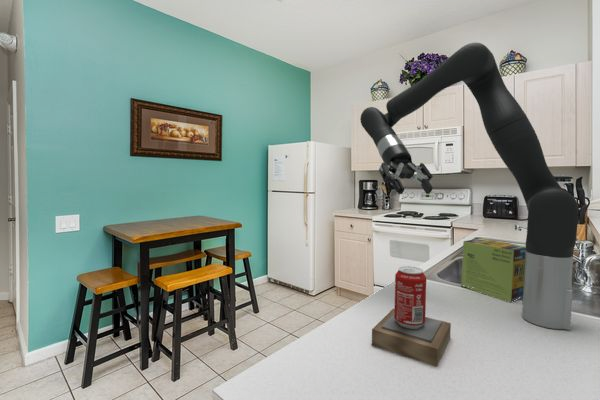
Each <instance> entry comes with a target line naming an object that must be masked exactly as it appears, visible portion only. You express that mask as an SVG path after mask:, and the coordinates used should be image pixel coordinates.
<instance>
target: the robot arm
mask: <svg viewBox="0 0 600 400" xmlns="http://www.w3.org/2000/svg"><path fill="white" fill-rule="evenodd" d="M460 82H463V83H464V84H465V86H466V87H467V88H468V89H469V90H470V92H471V94H472V96H473V97H474V98H475V100H476V103H477V104H478V107H479V110H480V115H481V116H480V117H481V119H482V123H483V127H484V129H485V131H486V134H487V136H488V137H489V140H490V142H491V144H492V146H493V148H494V149H495V151H496V153H497V154H498V155H499V157H500V159H501V160H502V161H503V163H504V165H505V166H506V168H508V170H509V172H510V173H511V174H512V176H513V177H514V179H515V182H517V184H518V187H519V189H520V192H521V194H522V197H523V199H524V202H525V204H526V205H525V206H526V209H527V225H526V227H527V228H526V238H525V246H526V249H525V269H524V287H523V298H522V307H521V310H522V311H521V316H522V317H521V318H522V319H524V320H525V321H527V322H528V323H531V324H533V325H535V326H538V327H542V328H548V329H552V330H553V329H555V330H567V331H570V330H571V324H572V322H571V321H572V306H573V305H572V304H573V289H572V282H573V281H572V280H573V279H572V278H573V264H574V250H575V246H576V244H577V236H578V235H577V233H578V225H579V224H578V223H579V204H578V201H577V200H576V198H575V197H574V196H573V195H572V194H570V193H569V192H567V191H565V190H564V189H563V188H562V186H561V185H560V184H559V182H558V181H557V179H556V177H555V176H554V175H553V173H552V172H551V169H550V168H549V166H548V164H547V162H546V159H545V155H544V151H543V149H542V145H541V142H540V140H539V138H538V137H539V136H538V135H537V132H536V131H535V128H534V127H533V125H532V123H531V121H530V119H529V117H528V116H527V114H526V113H525V111H524V110H523V108H522V106H521V105H520V104H519V102H518V101H517V100H516V98H515V97H514V96H513V95H512V93H511V92H510V91H509V89H508V88H507V86H506V84H505V82H504V80H503V78H502V74H501V73H500V70H499V67H498V63H497V62H496V59H495V56H494V54H493V52H491V50H490V49H489V48H488V47H487V45H485V44H483V43H482V42H471V43H470V42H469V43H467V44H465V45H464V46H462V47H460V48H459V49H457V51H455V52H454V53H453V54H452V55H450V56H449V57H448V58H447V59H446V60H445V61H443V62H442V63H441V64H440V65H439V66H437V67H436V68H434V70H432V71H431V72H429V73H428V74H427V75H425V76H424V77H423V78H422V79H420V80H419V81H417V82H416V83H414V84H413V85H411V86H410V87H408V88H406V89H405V90H403V91H402V92H400V93H399V94H397V95H395V96H394V97H392V98H390V99H389V100H388V101H387V102H386V106H385V107H386V112H387V113H383V112H382V111H380V109H378V108H377V107H373V106H369V107H366V108H365V109H364V110H362V112H361V114H360V118H359V120H360V125H361V127H362V128H363V129H364V130H365V132H366V133H367V135H368V136H370V138H371V139H372V140H373V143H374V144H375V147H376V149H377V150H378V153H379V156H380V159H381V160H382V161H383V162H381V165H380V166H379V169H378V172H379V173H380V176H381V178H382V180H383V182H384V184H391V186H393V188H394V190H395V192H396V193H397V194H398V195H403V193H404V191H405V187H404V185H403V183H402V181H401V180H400V179H402V180H404V179H410V180H412V182H416V183H419V184H420V186H421V188H422V189H423V191H424V192H425V194H427V195H429V194H430V195H431V192H432V190H433V186H432V184H431V183H430V181H431V180H432V179H433V177H434V176H433V175H432V173H431V171H430V170H429V169H428V168H427V166H426V165H425V163H423V162H421V163H419V164H418V165H417V164H415V163H413V160H412V155H411V153H410V151H409V150H408V148H407V147H406V146H405V144H404V143H403V141H402V140H401V139H400V137H399V136H398V134H397V133H396V131H394V129H393V128H394V126H395V125H396V124H397V123H399V121H400V120H401V119H403V118H405V117H407V116H408V115H410V114H412V113H413V112H416V111H417V110H418V109H420V108H421V107H423V106H424V105H425V104H426V103H428V102H429V101H430V100H431V99H432V98H434V97H435V96H436V95H437V94H439V93H441V92H442V91H443V90H445V89H447V88H449V87H451V86H453V85H455V84H458V83H460ZM415 173H416V175H415ZM392 175H393V176H392ZM414 175H415V176H414ZM421 178H422V179H421Z"/></svg>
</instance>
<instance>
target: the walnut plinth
mask: <svg viewBox="0 0 600 400" xmlns="http://www.w3.org/2000/svg"><path fill="white" fill-rule="evenodd" d="M394 310H395V308H392V309H391V310H390V311H389V312H388V313H387V314H386V315H385V316H384V317H383V318H382V319H380V320H379V321H378V322H377V324H375V326H374V327H372V329H371V346H374V347H376V348H380V349H382V350H386V351H388V352H391V353H393V354H397V355H400V356H403V357H405V358H409V359H412V360H415V361H418V362H422V363H424V364H427V365H430V366H433V367H436V368H437V367H438V366H439V363H440V361H441V359H442V356H443V355H444V353H445V350H446V348H447V347H448V344H449V343H450V342H449V341H450V340H451V327H452V325H451V322H447V321H443V320H439V319H435V318H432V317H427V316H425V323H424V324H423V325H422V326H421V327H420V328H416V329H410V328H405V327H403V326H401V325H399V323H398V322H397V321H396V320H395V318H394Z"/></svg>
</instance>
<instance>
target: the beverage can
mask: <svg viewBox="0 0 600 400" xmlns="http://www.w3.org/2000/svg"><path fill="white" fill-rule="evenodd" d="M394 275H395V276H394V278H395V279H394V309H395V310H394V318H395V320H396V321H397V322H398V323H399V325H401V326H403V327H405V328H410V329H416V328H420V327H421V326H422V325H423V324H424V323H425V317H426V309H427V308H426V305H427V304H426V301H427V299H426V298H427V277H426V275H425V274H424V269H422V268H420V267H416V266H412V265H411V266H410V265H406V266H405V265H403V266H399V267H398V270H397V272H396V273H395V274H394Z"/></svg>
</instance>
